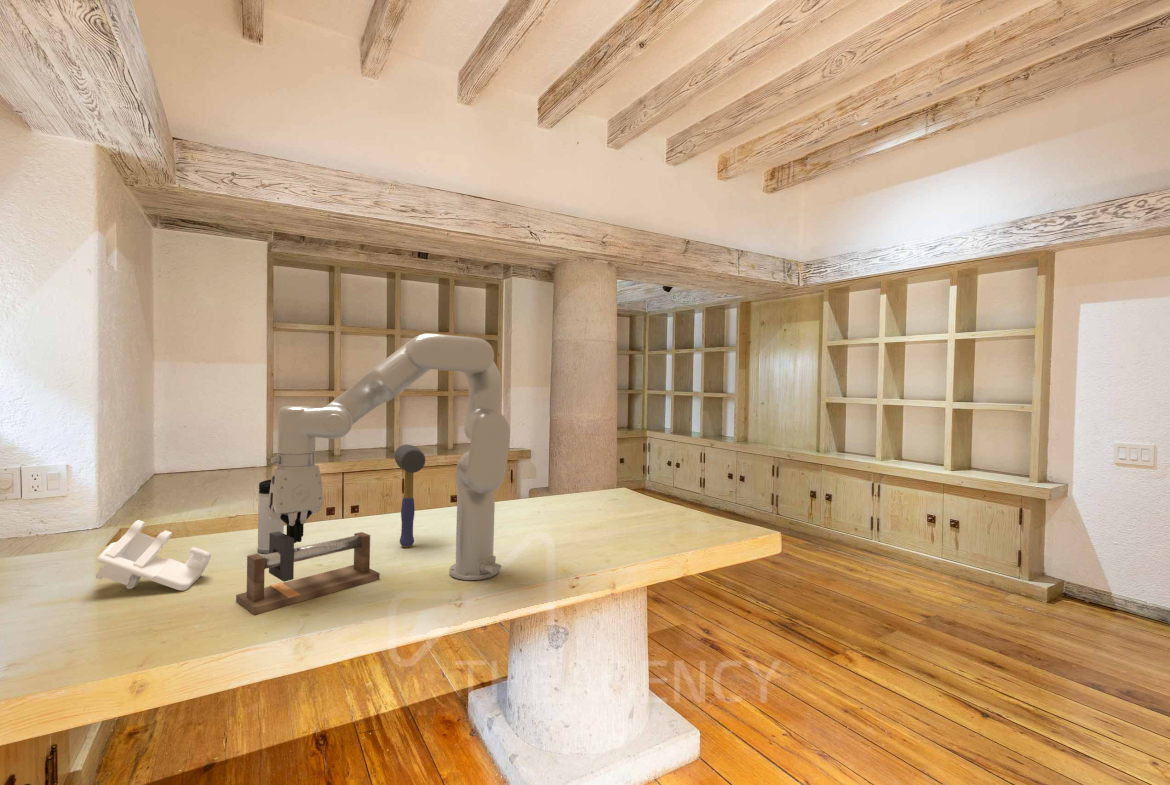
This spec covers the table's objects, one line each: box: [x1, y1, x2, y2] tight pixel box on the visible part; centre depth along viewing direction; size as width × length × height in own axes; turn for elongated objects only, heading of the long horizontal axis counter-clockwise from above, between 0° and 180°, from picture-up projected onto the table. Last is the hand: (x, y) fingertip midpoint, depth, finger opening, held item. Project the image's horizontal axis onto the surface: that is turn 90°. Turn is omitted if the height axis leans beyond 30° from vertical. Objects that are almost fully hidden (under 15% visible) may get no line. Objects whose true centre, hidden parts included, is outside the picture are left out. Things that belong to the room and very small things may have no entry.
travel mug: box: [257, 479, 285, 555], centre depth 152 cm, size 6×7×20 cm
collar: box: [268, 531, 295, 583], centre depth 120 cm, size 2×8×9 cm, turn 51°
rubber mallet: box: [393, 444, 426, 548], centre depth 159 cm, size 12×8×30 cm, turn 29°
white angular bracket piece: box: [95, 519, 212, 592], centre depth 125 cm, size 20×11×13 cm, turn 109°
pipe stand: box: [235, 531, 381, 616], centre depth 125 cm, size 28×10×11 cm, turn 141°
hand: (294, 541), depth 122 cm, fingers closed
